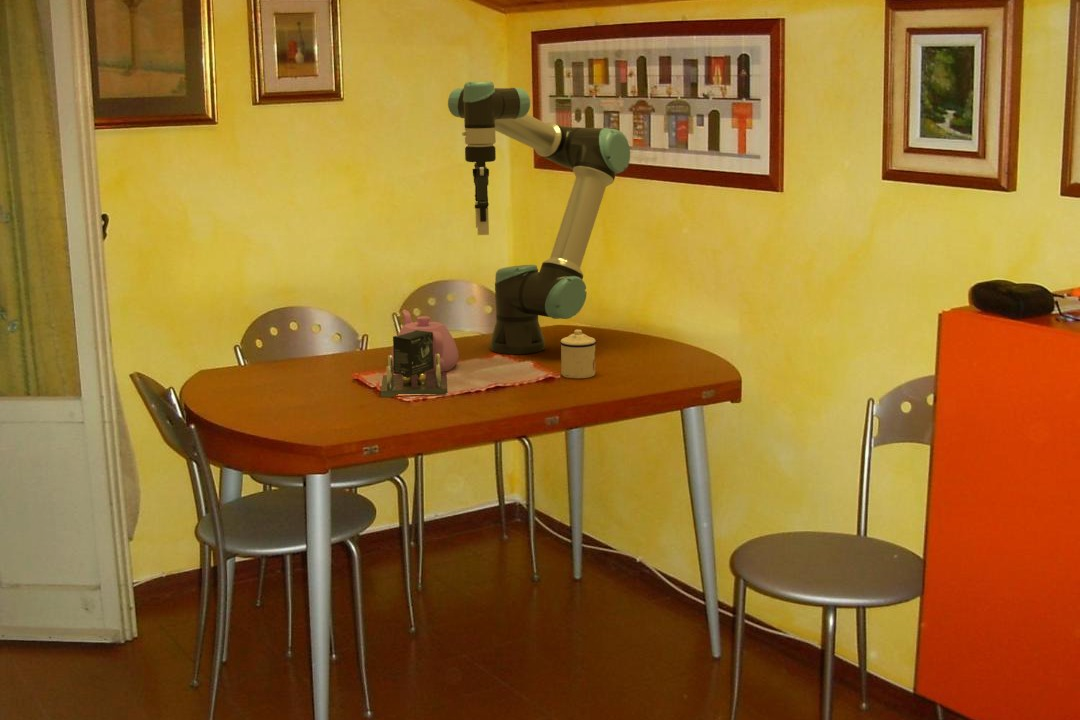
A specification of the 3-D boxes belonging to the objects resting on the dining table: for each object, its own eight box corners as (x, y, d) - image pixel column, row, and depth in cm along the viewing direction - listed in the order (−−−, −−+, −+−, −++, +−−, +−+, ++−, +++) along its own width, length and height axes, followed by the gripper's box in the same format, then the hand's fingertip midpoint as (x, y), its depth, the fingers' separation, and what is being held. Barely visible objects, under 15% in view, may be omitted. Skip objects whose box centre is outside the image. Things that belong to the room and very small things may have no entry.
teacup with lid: (601, 377, 335) (601, 332, 332) (568, 380, 332) (567, 335, 329) (583, 367, 346) (583, 323, 343) (551, 370, 342) (550, 326, 340)
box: (411, 377, 321) (409, 338, 319) (393, 374, 324) (391, 336, 322) (434, 369, 328) (433, 331, 326) (417, 366, 331) (415, 329, 329)
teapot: (474, 372, 342) (473, 320, 339) (411, 381, 333) (408, 328, 330) (434, 354, 363) (433, 305, 360) (374, 362, 355) (372, 311, 352)
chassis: (383, 380, 334) (382, 353, 332) (446, 378, 335) (446, 351, 334) (380, 397, 318) (379, 368, 317) (447, 394, 320) (446, 366, 318)
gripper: (463, 142, 338) (465, 225, 343) (466, 149, 314) (468, 238, 319) (493, 141, 339) (494, 224, 344) (497, 148, 315) (499, 237, 319)
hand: (482, 231), depth 331 cm, fingers open, 13 cm apart
